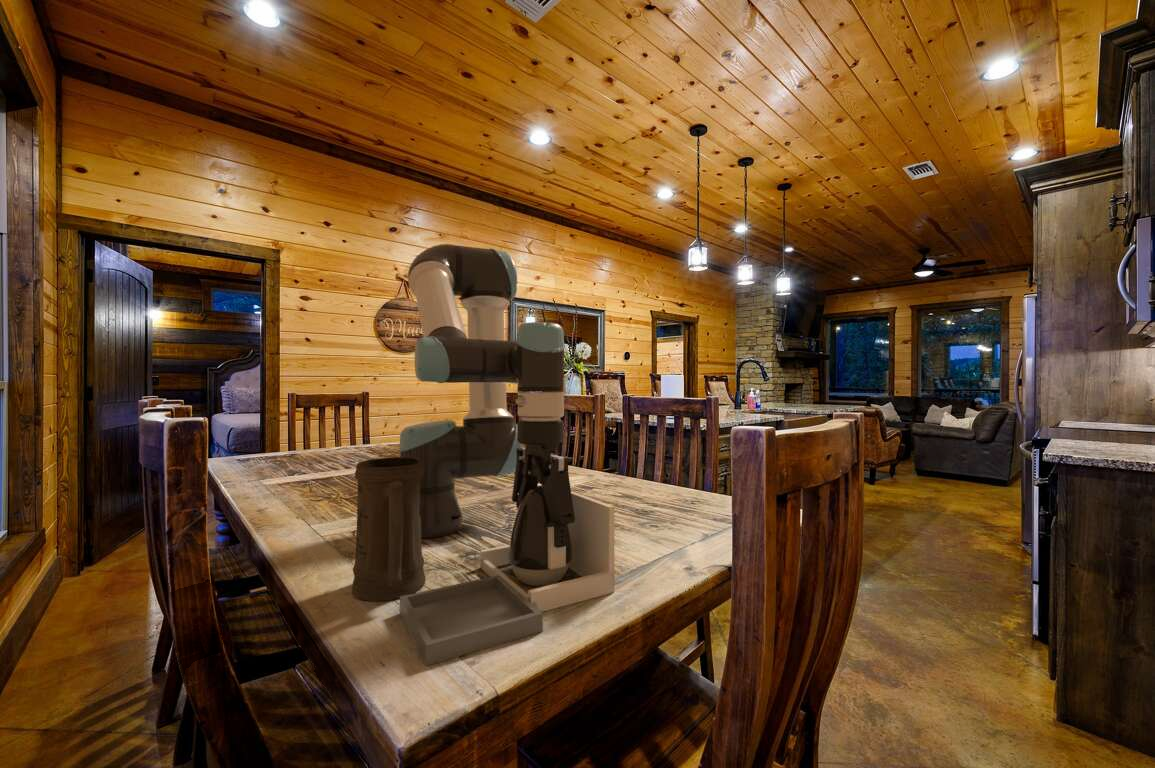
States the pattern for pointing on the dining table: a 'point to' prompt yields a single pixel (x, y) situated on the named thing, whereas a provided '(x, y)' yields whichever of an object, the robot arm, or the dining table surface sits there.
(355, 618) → the dining table surface
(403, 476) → the beer stein
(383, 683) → the dining table surface
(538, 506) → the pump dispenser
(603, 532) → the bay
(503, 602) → the tray
